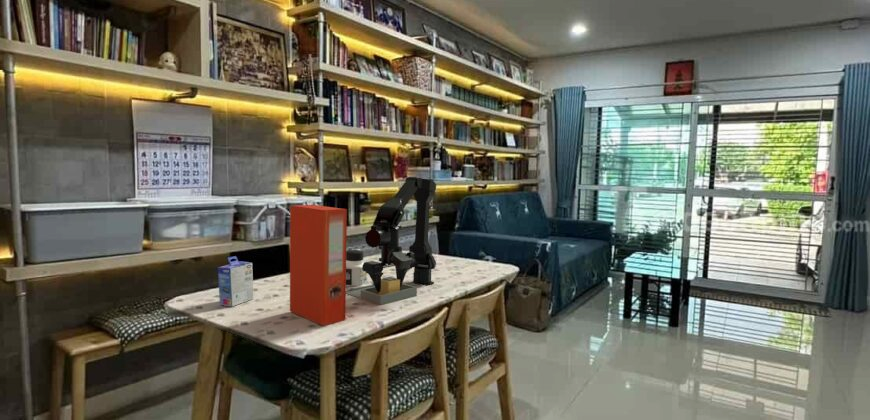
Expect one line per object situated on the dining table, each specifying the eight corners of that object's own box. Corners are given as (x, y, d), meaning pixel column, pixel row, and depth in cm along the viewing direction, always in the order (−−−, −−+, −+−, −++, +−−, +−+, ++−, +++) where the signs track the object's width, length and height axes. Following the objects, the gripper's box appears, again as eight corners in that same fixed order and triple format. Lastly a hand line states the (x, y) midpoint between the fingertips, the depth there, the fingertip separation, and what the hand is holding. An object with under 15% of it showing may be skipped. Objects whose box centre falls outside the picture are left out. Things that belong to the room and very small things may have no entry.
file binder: (313, 306, 146) (313, 204, 143) (346, 319, 134) (346, 208, 131) (289, 311, 140) (289, 205, 137) (322, 326, 128) (322, 210, 126)
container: (360, 287, 170) (360, 252, 168) (340, 286, 171) (340, 251, 170) (367, 282, 177) (367, 248, 176) (348, 281, 179) (348, 247, 177)
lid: (377, 285, 173) (377, 281, 173) (395, 291, 166) (395, 286, 166) (341, 293, 161) (341, 288, 161) (359, 299, 154) (359, 294, 154)
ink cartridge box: (240, 297, 155) (240, 253, 153) (254, 299, 153) (253, 255, 151) (217, 305, 145) (216, 259, 144) (232, 307, 143) (231, 260, 142)
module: (389, 294, 160) (390, 275, 159) (399, 297, 156) (400, 278, 156) (378, 296, 156) (378, 278, 156) (388, 300, 153) (388, 280, 152)
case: (395, 291, 166) (395, 281, 166) (416, 297, 159) (416, 287, 158) (359, 299, 154) (359, 289, 154) (380, 306, 147) (380, 296, 147)
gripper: (384, 249, 142) (383, 300, 144) (427, 243, 156) (426, 289, 157) (361, 245, 150) (361, 292, 151) (404, 239, 164) (403, 283, 165)
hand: (389, 289), depth 156 cm, fingers open, 9 cm apart
